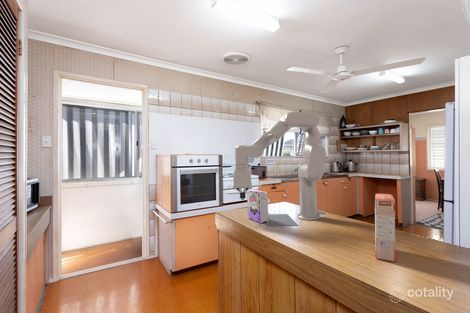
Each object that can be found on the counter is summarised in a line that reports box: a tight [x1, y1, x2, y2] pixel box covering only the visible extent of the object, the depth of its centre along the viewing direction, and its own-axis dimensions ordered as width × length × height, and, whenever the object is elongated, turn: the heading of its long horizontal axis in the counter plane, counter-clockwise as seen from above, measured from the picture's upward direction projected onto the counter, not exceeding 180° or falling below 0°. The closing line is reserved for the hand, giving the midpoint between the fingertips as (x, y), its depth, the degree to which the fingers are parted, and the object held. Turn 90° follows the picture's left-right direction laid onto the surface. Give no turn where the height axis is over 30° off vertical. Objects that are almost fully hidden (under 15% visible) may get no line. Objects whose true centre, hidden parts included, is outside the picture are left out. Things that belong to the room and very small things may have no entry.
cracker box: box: [374, 193, 396, 263], centre depth 84 cm, size 14×6×21 cm, turn 148°
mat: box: [264, 213, 299, 227], centre depth 131 cm, size 16×24×1 cm, turn 0°
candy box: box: [246, 189, 269, 224], centre depth 131 cm, size 14×6×16 cm, turn 25°
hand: (242, 199), depth 131 cm, fingers closed
